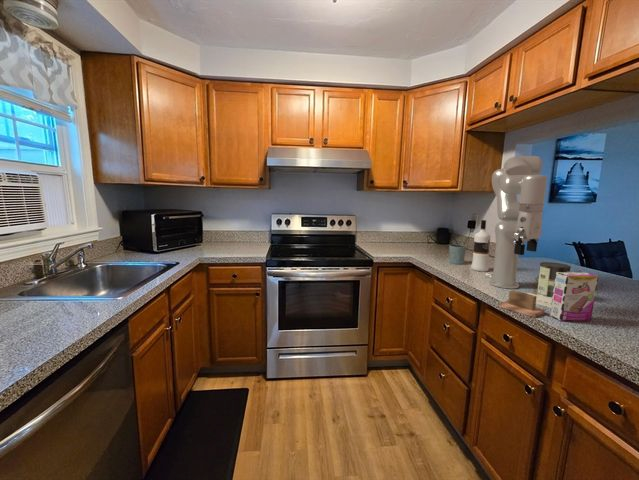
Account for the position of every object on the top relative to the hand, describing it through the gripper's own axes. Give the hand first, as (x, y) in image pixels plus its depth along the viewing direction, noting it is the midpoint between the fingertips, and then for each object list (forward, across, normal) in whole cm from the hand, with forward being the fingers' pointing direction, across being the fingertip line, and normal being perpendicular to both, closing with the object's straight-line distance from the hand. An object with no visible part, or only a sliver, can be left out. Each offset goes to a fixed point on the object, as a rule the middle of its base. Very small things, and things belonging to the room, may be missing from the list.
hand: (525, 252), depth 110 cm
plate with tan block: (+21, -6, -4) cm, 22 cm away
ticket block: (+22, +10, -3) cm, 24 cm away
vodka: (+25, +42, +40) cm, 63 cm away
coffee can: (+22, +23, -2) cm, 33 cm away
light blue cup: (+25, +47, +58) cm, 79 cm away
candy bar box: (+21, 0, -16) cm, 27 cm away
